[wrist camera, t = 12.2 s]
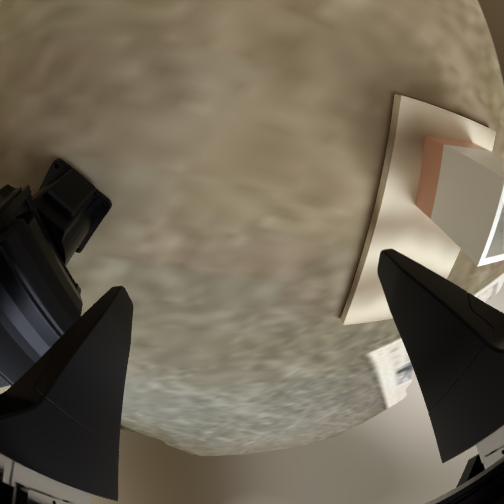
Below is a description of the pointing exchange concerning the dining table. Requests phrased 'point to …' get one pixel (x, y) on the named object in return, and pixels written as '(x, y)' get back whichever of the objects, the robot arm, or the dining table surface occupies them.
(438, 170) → the sleeve
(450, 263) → the pin board
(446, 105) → the dining table surface
